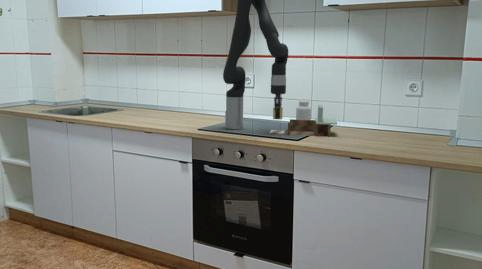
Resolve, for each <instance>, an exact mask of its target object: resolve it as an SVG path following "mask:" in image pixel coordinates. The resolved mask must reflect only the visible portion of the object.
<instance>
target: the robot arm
mask: <svg viewBox="0 0 482 269" xmlns="http://www.w3.org/2000/svg"><path fill="white" fill-rule="evenodd" d="M252 6H253V8H254V9H255V10H256V13H257V16H258V25H259V29H260V31H261V33H262V35H263V37H264V39H265V42H266V46H267V49H268V52H269V54H270V55H271V56H272V57H273V58H274V62H273V63H272V65H271V77H270V94H272V95H275V97H273V103H274V104H273V106H274V107H275V119H274V120H281V119H280V107H282V105H283V104H282V102H283V97H282V96H281V95H286V93H287V90H286V89H287V76H286V75H287V74H286V73H287V63H288V57H289V48H288V46H287V44H285V43H282V42H280V39H279V37H280V34H279V32H278V29H277V26H276V25H275V23H274V22H273V20H272V17H271V14H270V12H269V9H268V5H267V3H266V0H237V6H236V7H237V8H236V15H235V19H234V26H233V30H232V34H231V41H230V46H229V50H228V54H227V59H226V62H225V65H224V69H223V74H222V77H223V82H224V83H225V84H226V85H232V87H231V88H230V89H228V90H227V91H226V93H225V95H226V98H225V103H226V105H225V112H224V113H225V116H224V117H225V118H224V119H225V121H224V123H225V124H224V126H225V127H224V128H225V129H227V130H242V129H244V94H245V89H246V78H247V77H246V76H247V75H246V71H245V69H244V67H242V66H238V65H237V64H238V62H239V59H240V58H241V56H242V55H243V54H244V52H245V51H246V49H248V46H249V44H250V40H251V34H252V26H251V20H250V11H251V7H252ZM274 107H273V108H274ZM276 107H279V108H276Z"/></svg>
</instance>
